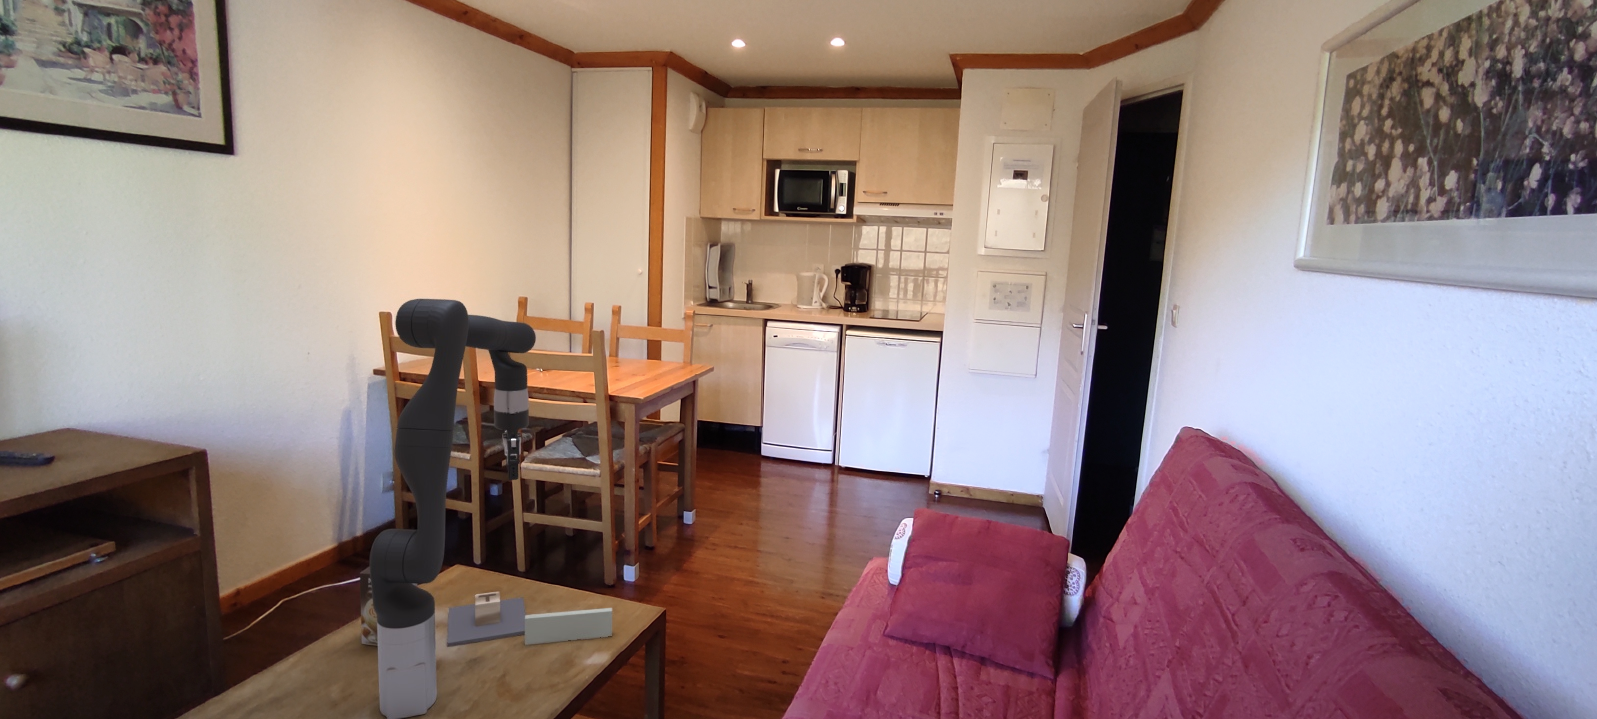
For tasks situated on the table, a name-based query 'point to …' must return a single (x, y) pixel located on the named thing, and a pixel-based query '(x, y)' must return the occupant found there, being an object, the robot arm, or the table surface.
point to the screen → (568, 626)
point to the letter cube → (487, 608)
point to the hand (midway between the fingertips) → (512, 473)
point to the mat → (467, 632)
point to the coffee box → (368, 610)
